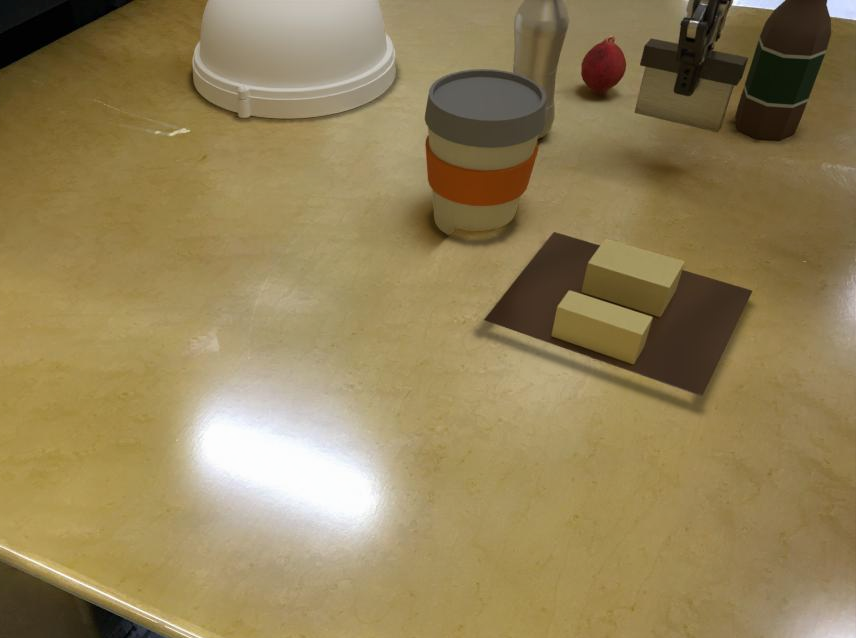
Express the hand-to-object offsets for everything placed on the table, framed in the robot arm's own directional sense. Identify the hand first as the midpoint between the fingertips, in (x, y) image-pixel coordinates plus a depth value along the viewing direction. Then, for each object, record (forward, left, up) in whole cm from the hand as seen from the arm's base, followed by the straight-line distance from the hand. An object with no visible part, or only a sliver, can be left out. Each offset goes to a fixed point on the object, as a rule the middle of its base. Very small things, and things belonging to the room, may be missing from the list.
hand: (687, 88), depth 105 cm
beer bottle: (-8, -15, -10) cm, 20 cm away
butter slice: (-5, +39, -8) cm, 41 cm away
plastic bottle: (+18, +2, -10) cm, 20 cm away
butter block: (-5, +30, -8) cm, 32 cm away
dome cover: (+55, +1, -10) cm, 56 cm away
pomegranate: (+14, -14, -10) cm, 22 cm away
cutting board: (-5, +33, -9) cm, 35 cm away
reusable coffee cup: (+15, +24, -10) cm, 30 cm away
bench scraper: (0, 0, -4) cm, 4 cm away
